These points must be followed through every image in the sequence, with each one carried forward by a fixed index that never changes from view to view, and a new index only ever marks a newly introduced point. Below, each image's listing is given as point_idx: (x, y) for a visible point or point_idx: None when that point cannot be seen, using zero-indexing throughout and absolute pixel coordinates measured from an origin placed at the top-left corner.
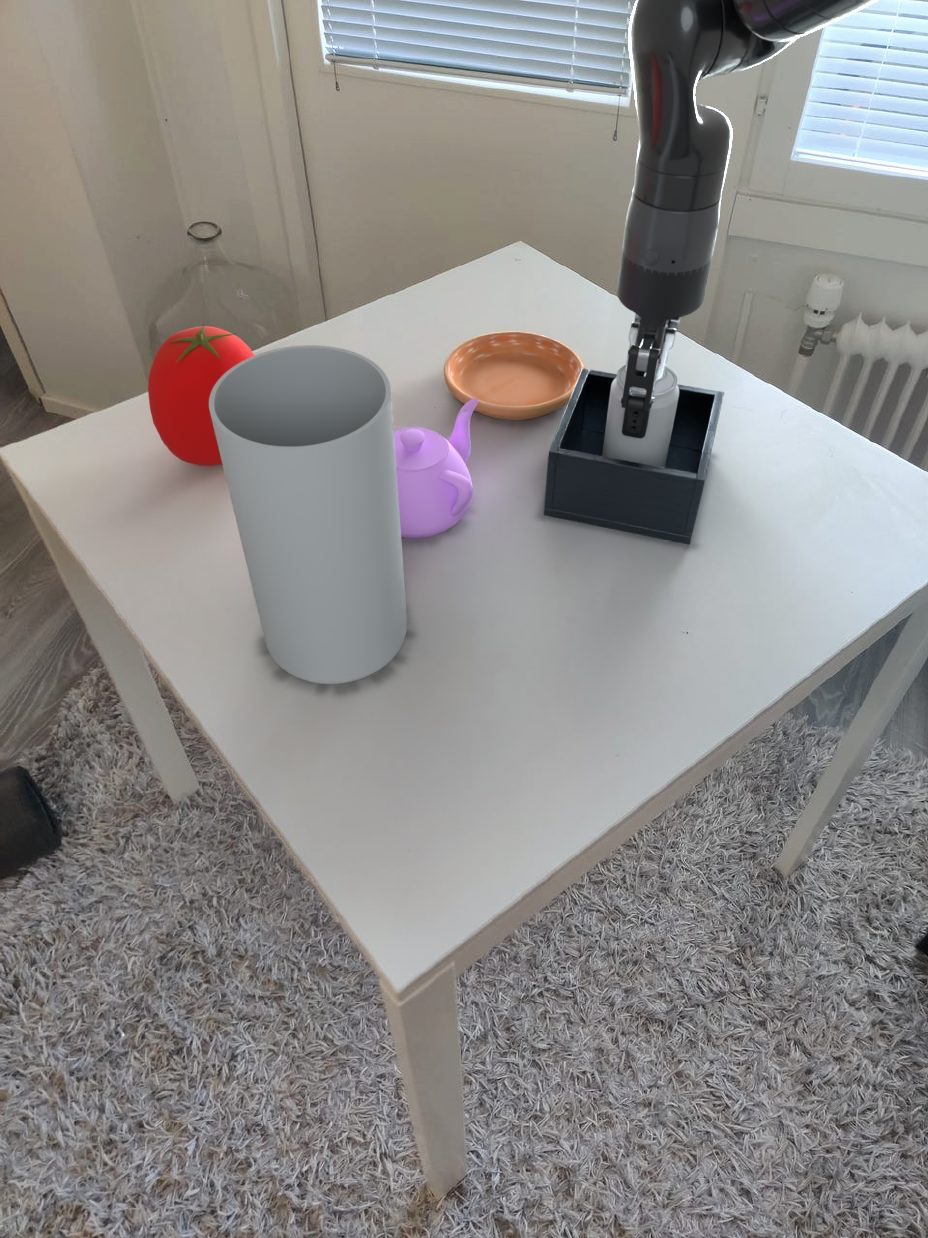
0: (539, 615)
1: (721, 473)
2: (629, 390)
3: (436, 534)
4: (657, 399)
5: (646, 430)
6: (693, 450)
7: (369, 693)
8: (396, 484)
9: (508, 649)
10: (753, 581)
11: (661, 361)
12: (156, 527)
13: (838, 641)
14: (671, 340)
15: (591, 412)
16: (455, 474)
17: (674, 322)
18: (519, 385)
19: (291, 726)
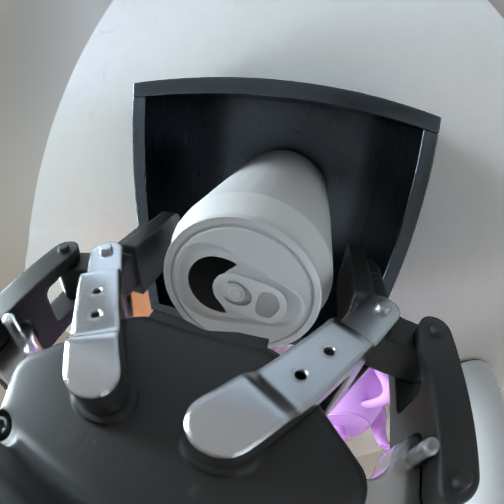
0: (480, 281)
1: (231, 67)
2: (414, 397)
3: None
4: (317, 263)
5: (351, 246)
6: (202, 109)
7: (497, 362)
8: (496, 479)
9: (501, 299)
10: (440, 50)
11: (335, 387)
12: (350, 446)
13: (489, 3)
14: (272, 435)
15: None
16: (376, 405)
17: (118, 400)
18: (152, 310)
19: (498, 382)
